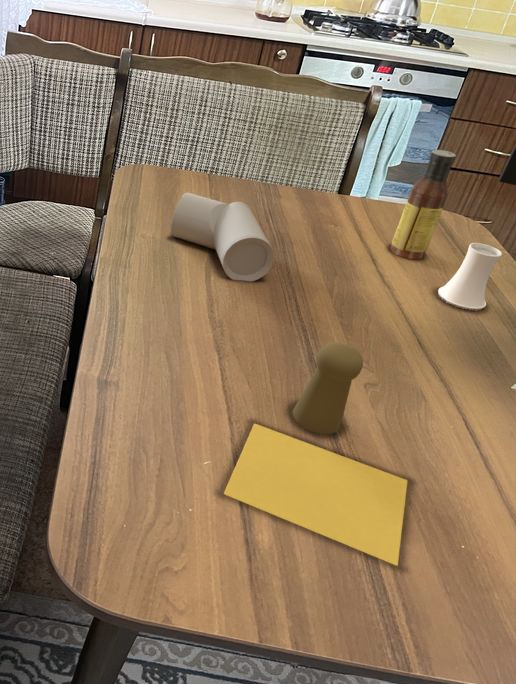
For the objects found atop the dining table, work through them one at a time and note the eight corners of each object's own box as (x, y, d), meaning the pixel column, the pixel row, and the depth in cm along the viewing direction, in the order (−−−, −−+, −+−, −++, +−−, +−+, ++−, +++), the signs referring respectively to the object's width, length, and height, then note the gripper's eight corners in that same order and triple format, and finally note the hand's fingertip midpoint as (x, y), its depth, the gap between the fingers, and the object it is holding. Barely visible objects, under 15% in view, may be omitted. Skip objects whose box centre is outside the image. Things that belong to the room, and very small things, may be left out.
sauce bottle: (427, 255, 133) (471, 155, 121) (416, 264, 129) (461, 162, 117) (393, 243, 136) (434, 145, 125) (382, 252, 132) (422, 151, 121)
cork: (307, 438, 84) (336, 366, 78) (282, 407, 88) (308, 337, 82) (349, 433, 85) (381, 362, 79) (322, 403, 90) (350, 334, 84)
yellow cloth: (406, 482, 79) (407, 480, 79) (396, 568, 68) (397, 565, 68) (253, 425, 85) (254, 423, 85) (222, 496, 74) (223, 493, 74)
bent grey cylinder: (290, 248, 126) (189, 218, 134) (303, 199, 119) (196, 170, 127) (257, 304, 116) (150, 267, 124) (269, 254, 108) (155, 219, 116)
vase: (437, 286, 122) (461, 235, 116) (484, 299, 119) (511, 248, 113) (434, 303, 116) (459, 250, 111) (482, 318, 114) (511, 264, 108)
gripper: (565, -29, 82) (478, 162, 95) (578, -23, 72) (479, 190, 85) (639, -20, 79) (539, 175, 93) (662, -12, 70) (547, 205, 83)
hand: (510, 182), depth 89 cm, fingers closed
